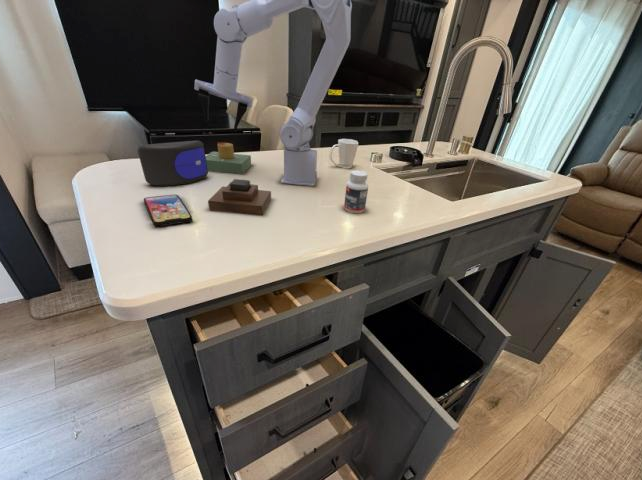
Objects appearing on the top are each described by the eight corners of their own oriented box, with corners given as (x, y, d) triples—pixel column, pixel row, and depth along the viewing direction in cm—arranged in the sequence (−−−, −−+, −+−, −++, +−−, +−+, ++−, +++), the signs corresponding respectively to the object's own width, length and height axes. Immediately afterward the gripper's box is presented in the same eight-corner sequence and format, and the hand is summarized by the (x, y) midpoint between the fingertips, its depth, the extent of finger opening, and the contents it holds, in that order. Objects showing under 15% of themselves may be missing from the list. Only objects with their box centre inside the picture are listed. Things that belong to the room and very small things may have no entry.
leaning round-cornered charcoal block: (152, 190, 79) (141, 148, 73) (145, 184, 81) (134, 144, 76) (214, 180, 89) (209, 142, 83) (206, 175, 91) (201, 139, 85)
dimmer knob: (236, 156, 99) (234, 142, 96) (231, 159, 95) (230, 145, 93) (221, 154, 99) (220, 141, 96) (216, 158, 95) (215, 144, 93)
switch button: (250, 187, 76) (249, 180, 75) (246, 193, 73) (245, 185, 72) (235, 186, 76) (234, 178, 75) (230, 191, 73) (229, 183, 72)
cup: (359, 168, 110) (362, 143, 105) (334, 170, 106) (336, 144, 101) (349, 163, 115) (351, 138, 110) (324, 164, 111) (326, 139, 106)
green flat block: (251, 165, 103) (250, 154, 101) (242, 174, 95) (241, 163, 93) (213, 161, 103) (212, 150, 101) (202, 170, 95) (200, 158, 93)
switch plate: (271, 199, 81) (270, 183, 78) (262, 215, 73) (261, 198, 70) (223, 195, 80) (221, 178, 78) (209, 210, 72) (206, 192, 70)
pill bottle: (339, 208, 80) (343, 171, 75) (353, 203, 83) (358, 168, 78) (355, 215, 77) (359, 177, 72) (369, 210, 80) (374, 174, 75)
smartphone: (177, 194, 76) (193, 217, 66) (178, 197, 76) (193, 221, 67) (142, 197, 72) (153, 223, 63) (143, 201, 73) (154, 227, 63)
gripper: (255, 78, 88) (247, 129, 96) (198, 57, 83) (195, 113, 91) (255, 83, 83) (247, 137, 91) (194, 62, 78) (191, 121, 86)
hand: (221, 126), depth 91 cm, fingers open, 7 cm apart
